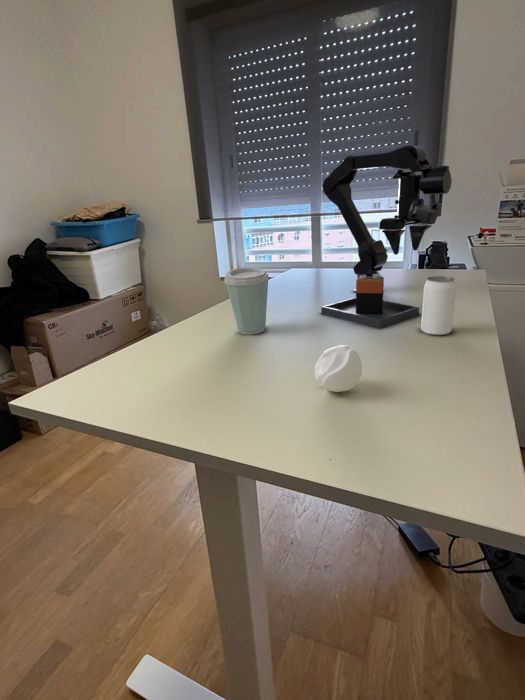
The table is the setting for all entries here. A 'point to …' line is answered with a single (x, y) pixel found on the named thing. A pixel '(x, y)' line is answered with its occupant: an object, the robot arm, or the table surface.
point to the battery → (369, 294)
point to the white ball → (338, 368)
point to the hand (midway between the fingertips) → (405, 252)
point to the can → (438, 305)
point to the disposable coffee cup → (248, 298)
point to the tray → (389, 314)
